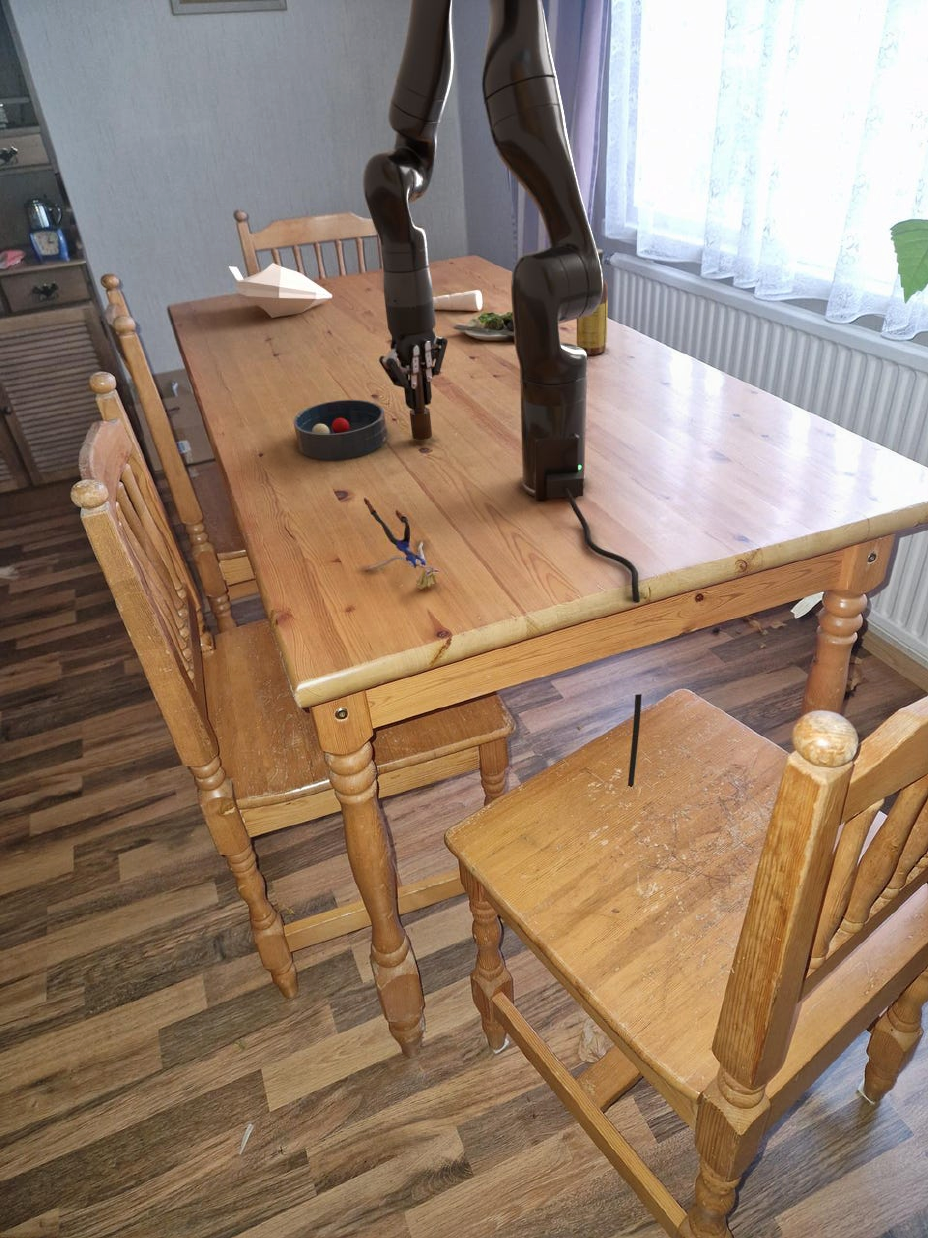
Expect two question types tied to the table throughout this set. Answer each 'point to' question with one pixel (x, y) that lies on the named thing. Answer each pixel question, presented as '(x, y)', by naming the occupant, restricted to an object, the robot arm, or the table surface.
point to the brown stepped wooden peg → (420, 414)
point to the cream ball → (320, 429)
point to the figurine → (405, 550)
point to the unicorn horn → (459, 301)
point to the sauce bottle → (594, 324)
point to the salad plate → (490, 327)
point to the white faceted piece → (280, 290)
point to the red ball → (340, 425)
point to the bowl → (358, 441)
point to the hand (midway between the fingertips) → (419, 405)
